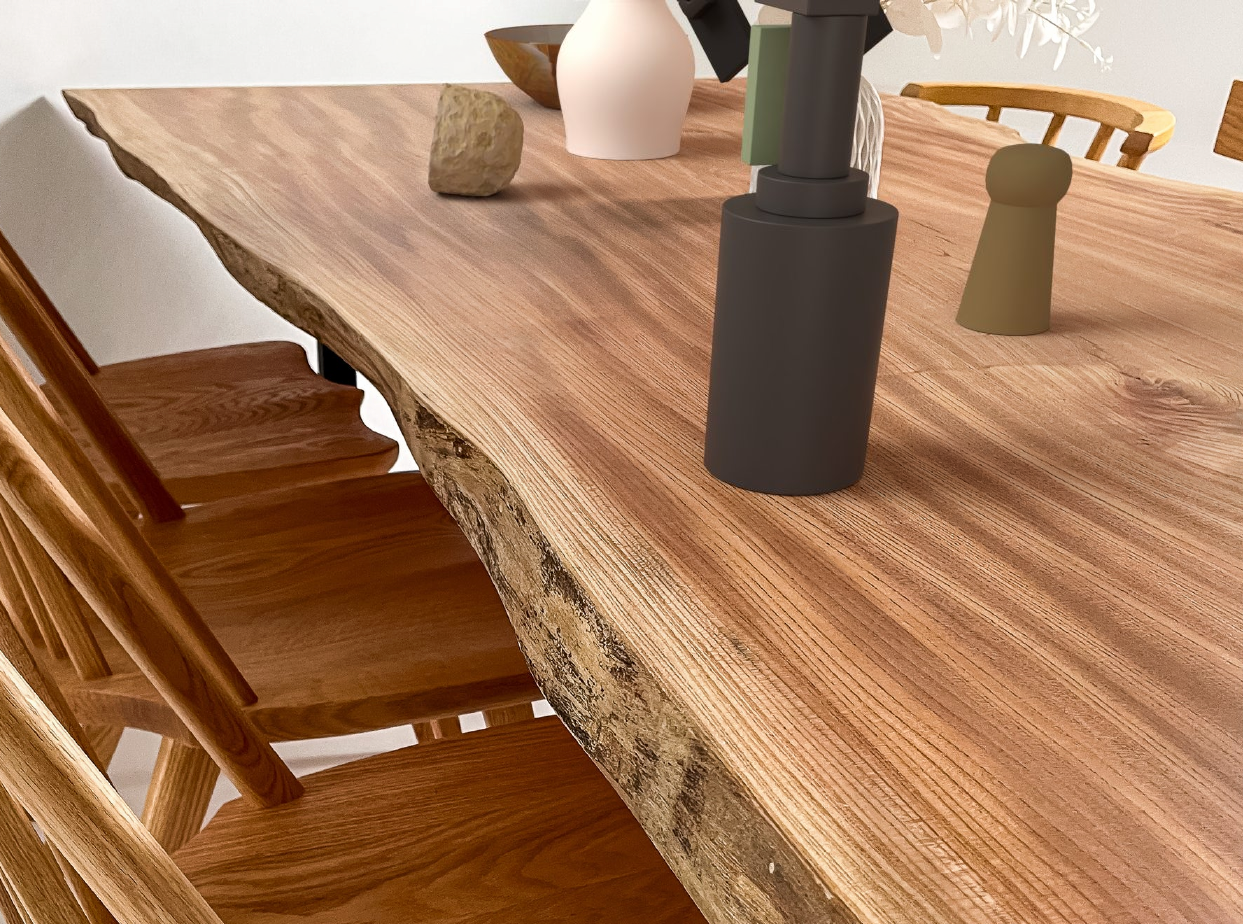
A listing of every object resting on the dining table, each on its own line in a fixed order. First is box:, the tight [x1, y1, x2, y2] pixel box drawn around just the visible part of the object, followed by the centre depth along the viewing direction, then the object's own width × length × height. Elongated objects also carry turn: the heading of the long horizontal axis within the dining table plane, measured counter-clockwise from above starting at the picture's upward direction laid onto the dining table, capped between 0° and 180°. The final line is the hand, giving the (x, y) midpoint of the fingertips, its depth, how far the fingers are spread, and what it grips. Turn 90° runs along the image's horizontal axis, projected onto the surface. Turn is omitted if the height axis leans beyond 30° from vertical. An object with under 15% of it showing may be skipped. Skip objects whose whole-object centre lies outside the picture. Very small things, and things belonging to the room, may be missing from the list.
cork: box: [955, 142, 1074, 336], centre depth 90 cm, size 6×6×11 cm
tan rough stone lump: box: [427, 82, 525, 197], centre depth 126 cm, size 10×10×10 cm
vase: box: [556, 0, 696, 161], centre depth 143 cm, size 14×14×20 cm
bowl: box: [483, 23, 689, 110], centre depth 174 cm, size 25×25×8 cm
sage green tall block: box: [740, 23, 791, 167], centre depth 67 cm, size 1×3×6 cm, turn 100°
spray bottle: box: [703, 0, 900, 496], centre depth 65 cm, size 10×8×24 cm
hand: (811, 56), depth 80 cm, fingers open, 13 cm apart
